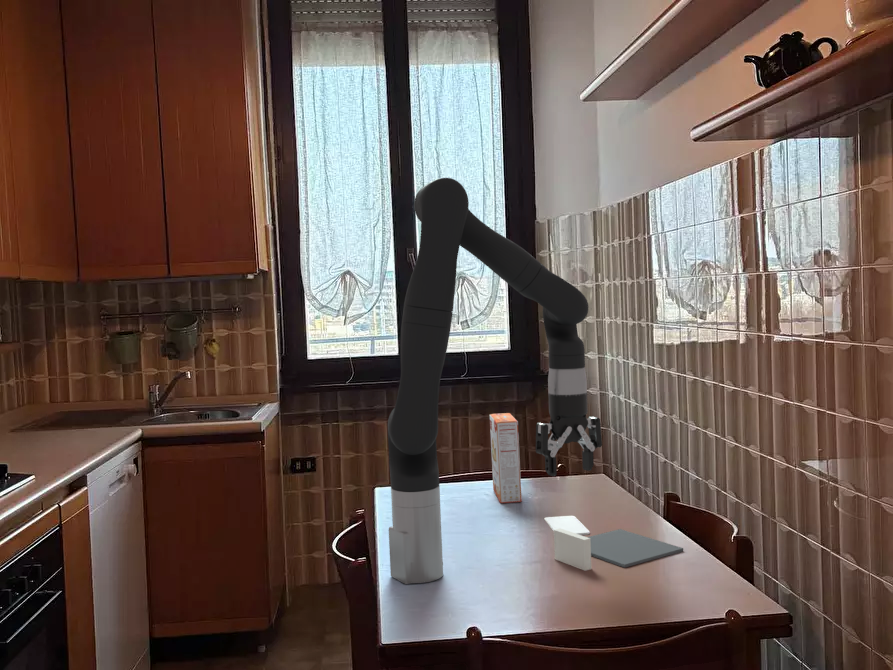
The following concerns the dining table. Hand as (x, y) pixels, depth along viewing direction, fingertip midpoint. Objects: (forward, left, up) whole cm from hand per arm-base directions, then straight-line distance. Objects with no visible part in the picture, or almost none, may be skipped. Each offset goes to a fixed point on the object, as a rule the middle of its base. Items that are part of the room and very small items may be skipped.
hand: (569, 472), depth 169 cm
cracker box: (+20, +50, -18) cm, 56 cm away
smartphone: (+14, +19, -18) cm, 29 cm away
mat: (+12, -1, -17) cm, 21 cm away
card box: (-2, -2, -17) cm, 18 cm away
